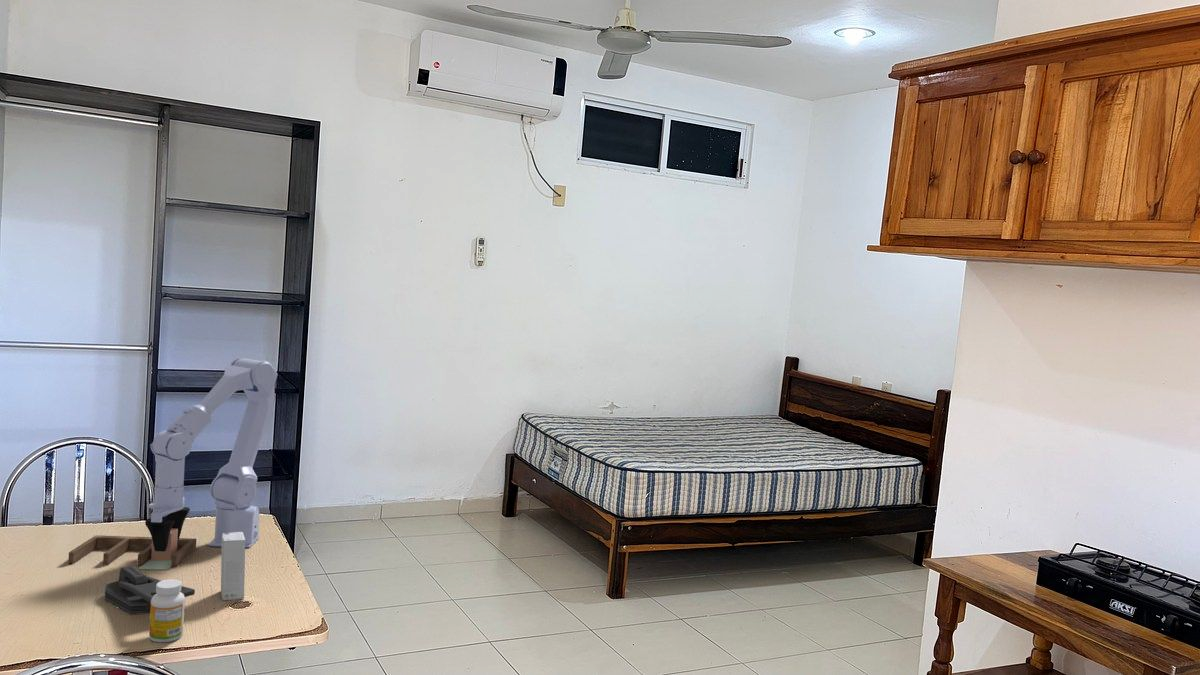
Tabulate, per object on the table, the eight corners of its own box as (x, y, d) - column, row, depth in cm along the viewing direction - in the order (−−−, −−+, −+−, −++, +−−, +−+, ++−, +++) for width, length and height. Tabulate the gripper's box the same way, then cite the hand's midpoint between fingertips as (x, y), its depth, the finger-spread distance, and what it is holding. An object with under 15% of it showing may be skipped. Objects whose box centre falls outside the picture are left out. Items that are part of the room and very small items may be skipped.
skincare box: (244, 599, 174) (247, 539, 173) (220, 601, 172) (223, 541, 171) (242, 588, 180) (245, 530, 179) (218, 590, 178) (221, 532, 177)
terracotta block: (176, 554, 196) (177, 528, 196) (170, 560, 193) (171, 533, 192) (158, 554, 196) (159, 528, 196) (151, 559, 192) (152, 533, 192)
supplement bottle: (156, 628, 157) (158, 576, 156) (187, 630, 157) (190, 578, 156) (143, 642, 151) (146, 588, 151) (176, 643, 152) (179, 590, 151)
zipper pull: (148, 599, 154) (100, 562, 171) (147, 636, 154) (98, 595, 171) (200, 589, 160) (148, 553, 177) (198, 624, 161) (147, 585, 178)
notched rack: (195, 549, 202) (196, 538, 202) (172, 570, 187) (173, 558, 187) (95, 546, 199) (95, 535, 199) (63, 567, 185) (64, 555, 185)
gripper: (162, 477, 200) (160, 535, 201) (137, 492, 186) (134, 555, 186) (195, 478, 201) (192, 536, 202) (171, 493, 187) (169, 556, 187)
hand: (167, 545), depth 194 cm, fingers open, 7 cm apart
